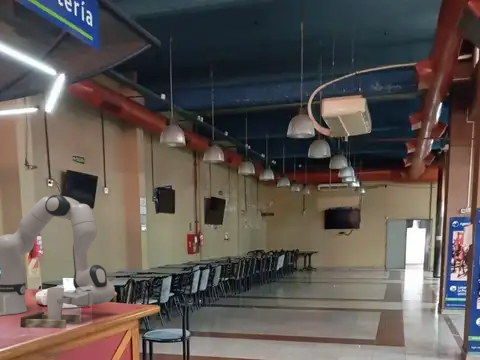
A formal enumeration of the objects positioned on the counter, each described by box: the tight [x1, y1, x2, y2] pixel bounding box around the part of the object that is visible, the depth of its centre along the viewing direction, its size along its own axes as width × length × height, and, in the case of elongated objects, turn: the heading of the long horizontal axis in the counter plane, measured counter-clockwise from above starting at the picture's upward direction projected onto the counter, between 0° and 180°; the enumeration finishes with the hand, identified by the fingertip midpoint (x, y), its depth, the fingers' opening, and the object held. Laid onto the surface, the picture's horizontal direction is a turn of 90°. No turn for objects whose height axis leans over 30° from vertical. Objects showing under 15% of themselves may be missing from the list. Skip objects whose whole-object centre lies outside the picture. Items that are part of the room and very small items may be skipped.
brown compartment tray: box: [19, 311, 81, 329], centre depth 197 cm, size 20×13×4 cm, turn 81°
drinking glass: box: [46, 286, 65, 320], centre depth 197 cm, size 7×7×15 cm
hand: (53, 300), depth 197 cm, fingers closed on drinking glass, 6 cm apart
